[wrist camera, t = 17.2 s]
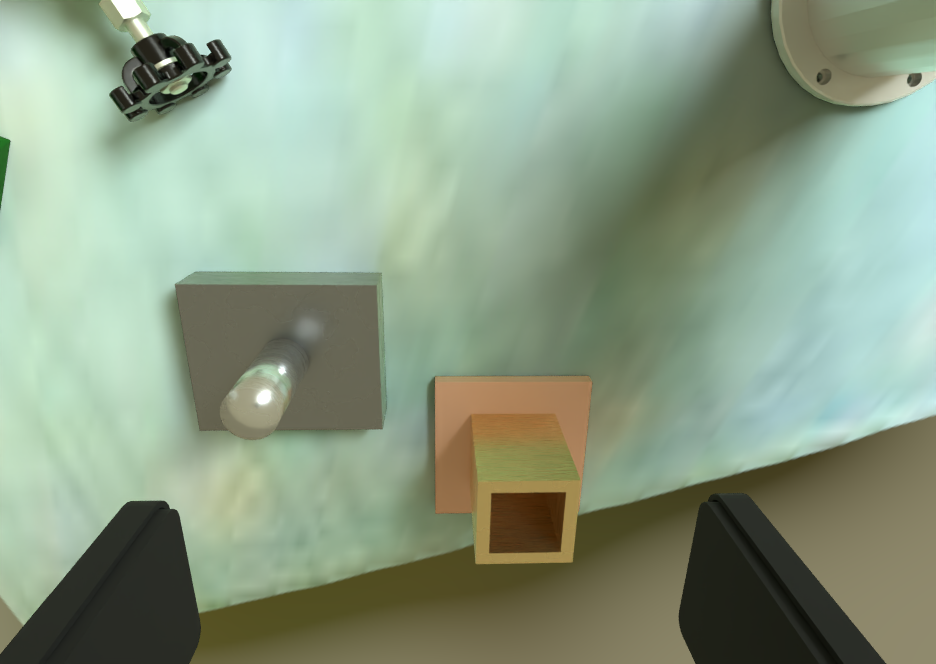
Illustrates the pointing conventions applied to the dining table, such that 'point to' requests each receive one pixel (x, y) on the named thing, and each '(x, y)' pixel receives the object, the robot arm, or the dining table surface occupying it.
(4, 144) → the milk carton
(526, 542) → the sleeve
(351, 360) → the grey base with post
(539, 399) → the tile
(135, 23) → the valve
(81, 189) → the dining table surface
